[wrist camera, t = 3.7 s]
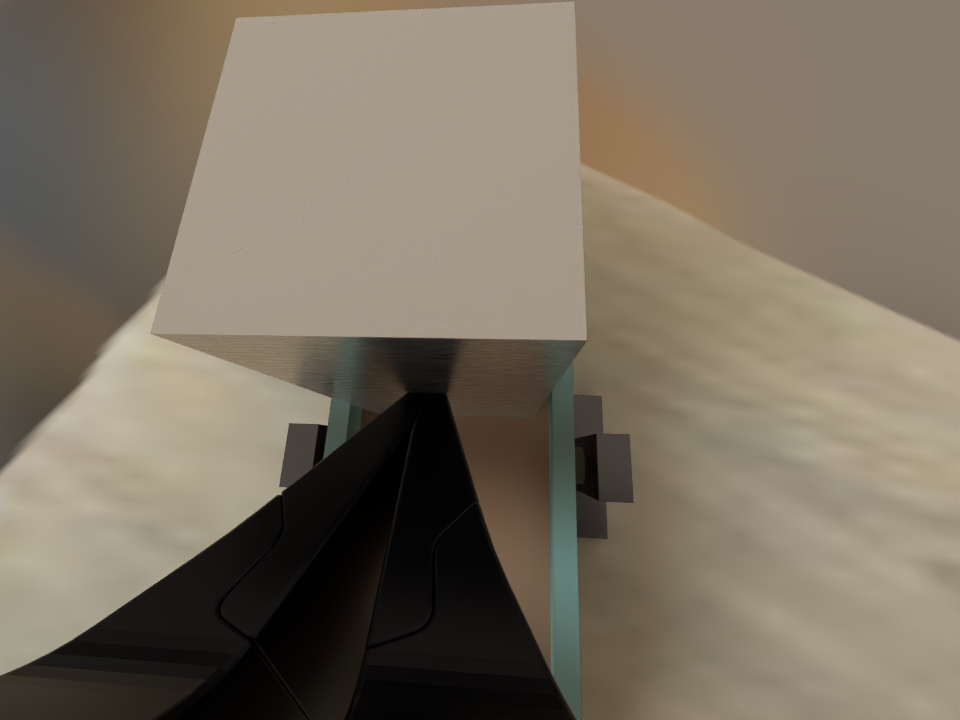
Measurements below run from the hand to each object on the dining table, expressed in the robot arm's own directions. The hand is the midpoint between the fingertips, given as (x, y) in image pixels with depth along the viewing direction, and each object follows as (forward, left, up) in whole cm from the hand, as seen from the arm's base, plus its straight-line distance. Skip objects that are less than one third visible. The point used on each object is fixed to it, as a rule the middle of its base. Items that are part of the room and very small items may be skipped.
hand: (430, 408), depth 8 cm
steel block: (+3, -1, -4) cm, 5 cm away
